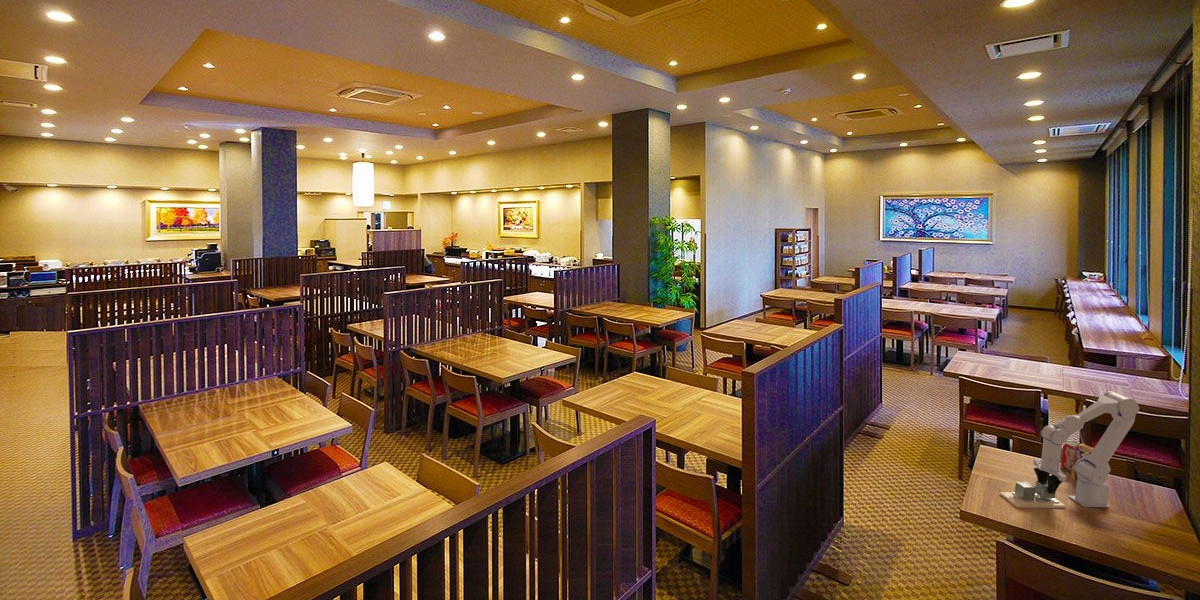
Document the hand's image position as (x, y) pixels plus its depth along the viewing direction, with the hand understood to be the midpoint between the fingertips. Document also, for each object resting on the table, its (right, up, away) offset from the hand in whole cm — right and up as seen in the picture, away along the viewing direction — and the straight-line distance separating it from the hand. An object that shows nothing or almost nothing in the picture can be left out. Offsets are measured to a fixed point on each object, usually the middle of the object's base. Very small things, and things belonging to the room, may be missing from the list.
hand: (1046, 490), depth 228 cm
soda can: (+30, 0, +27) cm, 41 cm away
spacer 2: (-1, -2, 0) cm, 2 cm away
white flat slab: (-4, -3, 0) cm, 5 cm away
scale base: (-6, -4, 0) cm, 7 cm away
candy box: (+27, -2, +15) cm, 31 cm away
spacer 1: (-8, -3, +1) cm, 9 cm away
